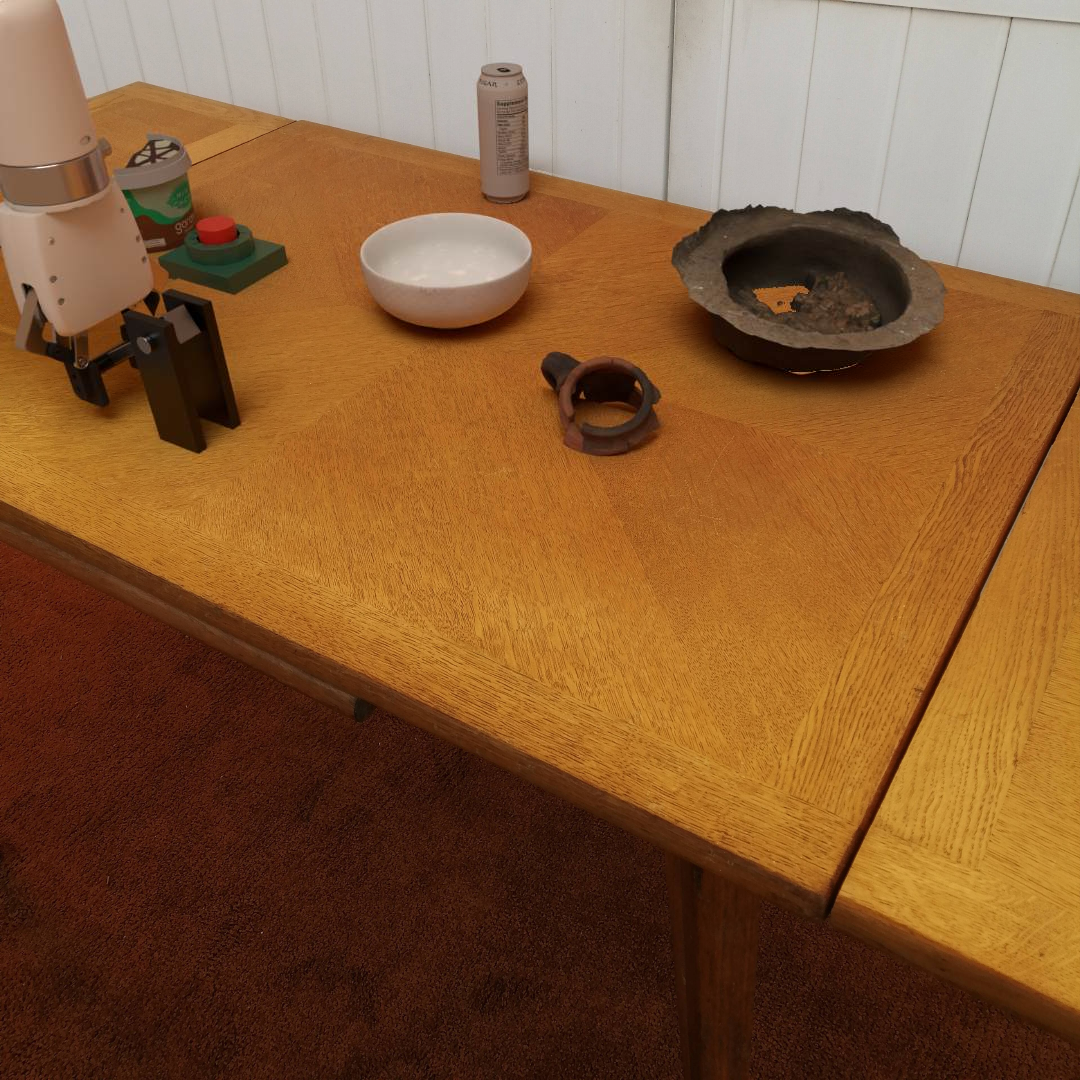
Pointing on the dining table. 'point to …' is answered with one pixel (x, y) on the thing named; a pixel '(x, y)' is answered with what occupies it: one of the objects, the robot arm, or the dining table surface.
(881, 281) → the stone bowl
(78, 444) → the dining table surface
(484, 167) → the energy drink can
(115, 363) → the lever
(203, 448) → the bracket
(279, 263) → the button box
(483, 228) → the cereal bowl
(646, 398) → the pottery mug
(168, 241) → the food container
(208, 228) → the button
